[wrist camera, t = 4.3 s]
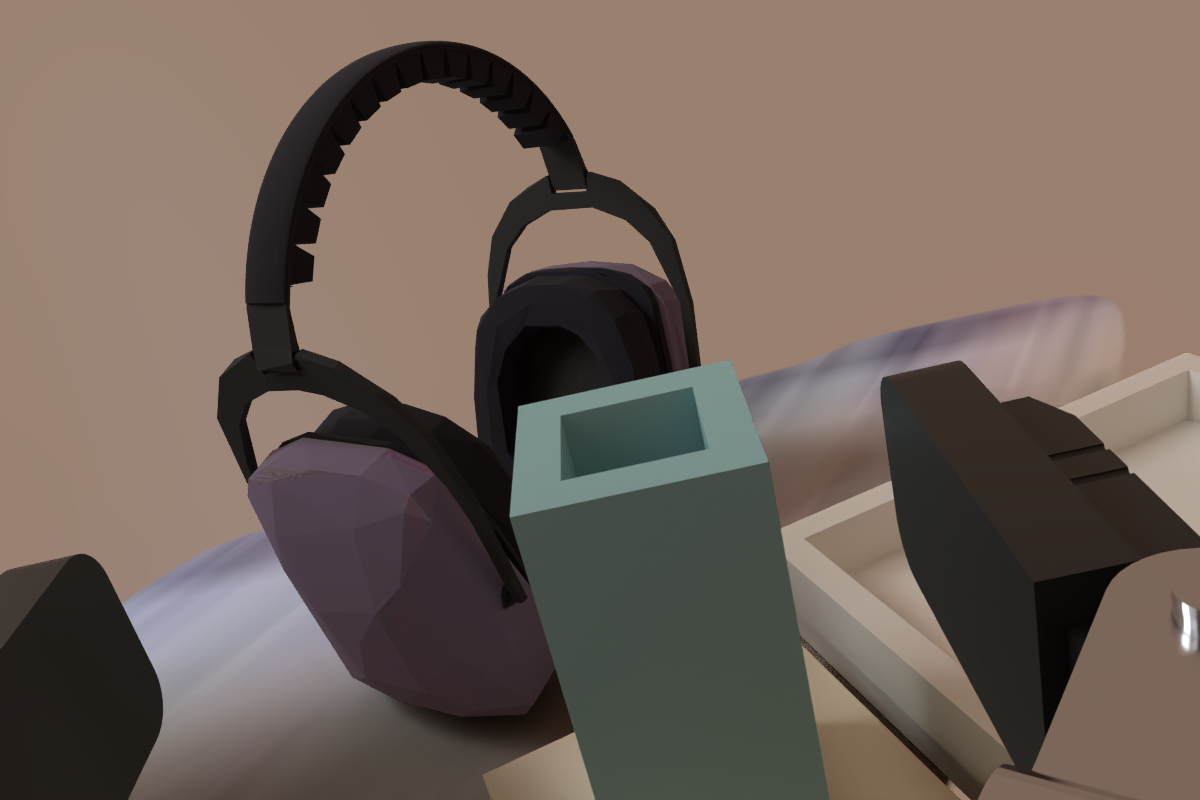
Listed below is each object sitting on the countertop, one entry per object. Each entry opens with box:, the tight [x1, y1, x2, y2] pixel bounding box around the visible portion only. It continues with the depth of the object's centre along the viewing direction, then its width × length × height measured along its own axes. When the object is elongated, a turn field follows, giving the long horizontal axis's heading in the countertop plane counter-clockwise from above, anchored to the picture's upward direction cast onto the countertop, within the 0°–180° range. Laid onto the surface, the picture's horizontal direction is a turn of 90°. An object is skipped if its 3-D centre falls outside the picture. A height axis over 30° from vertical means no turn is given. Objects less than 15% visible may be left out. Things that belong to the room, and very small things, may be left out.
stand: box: [482, 646, 960, 800], centre depth 26 cm, size 10×10×10 cm
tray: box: [781, 352, 1200, 800], centre depth 33 cm, size 18×12×3 cm, turn 113°
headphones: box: [217, 41, 701, 717], centre depth 36 cm, size 9×17×20 cm, turn 150°
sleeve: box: [510, 360, 830, 800], centre depth 25 cm, size 5×5×11 cm
